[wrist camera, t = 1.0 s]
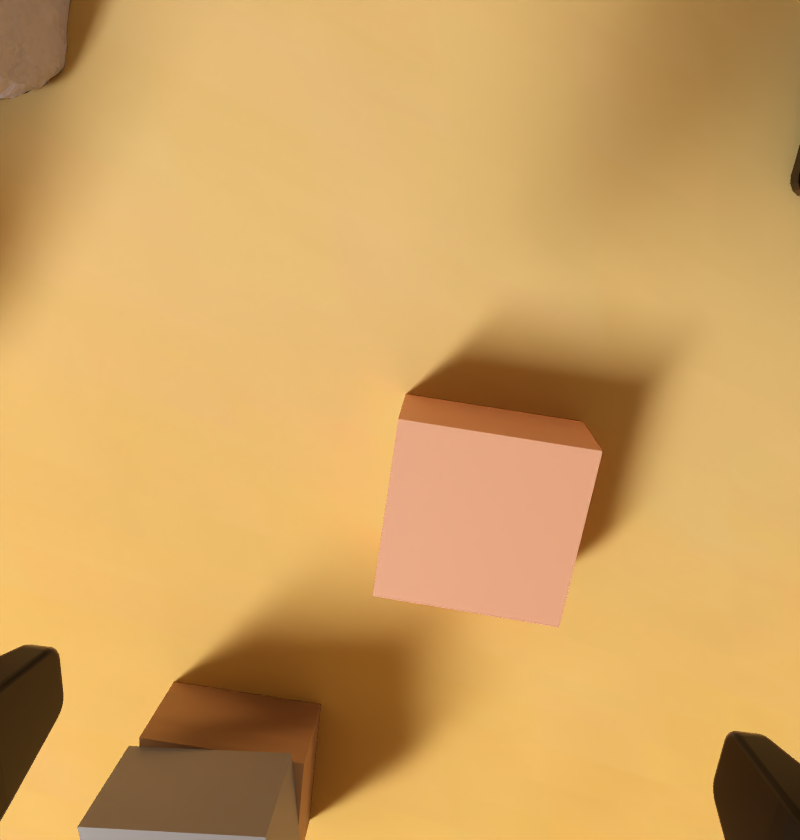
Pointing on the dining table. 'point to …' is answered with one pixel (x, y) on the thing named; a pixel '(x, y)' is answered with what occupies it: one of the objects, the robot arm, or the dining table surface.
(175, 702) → the walnut block
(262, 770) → the gray block
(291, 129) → the dining table surface
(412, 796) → the dining table surface
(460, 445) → the terracotta block
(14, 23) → the stone block
